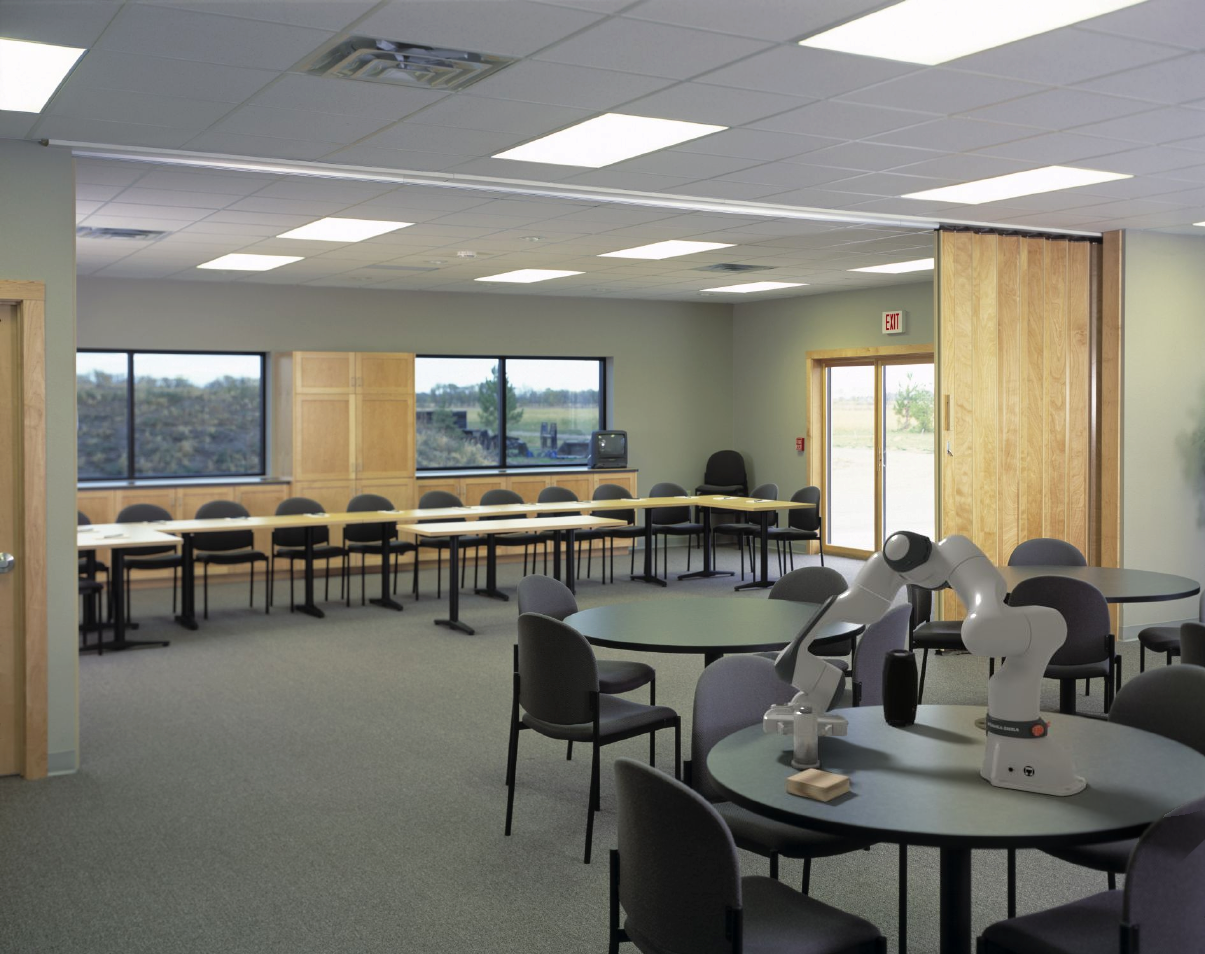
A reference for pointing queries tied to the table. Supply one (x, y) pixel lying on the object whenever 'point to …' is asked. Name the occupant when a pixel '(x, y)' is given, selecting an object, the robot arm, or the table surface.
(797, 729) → the cylinder
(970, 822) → the table surface
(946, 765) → the table surface
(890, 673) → the portable speaker
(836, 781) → the stand
